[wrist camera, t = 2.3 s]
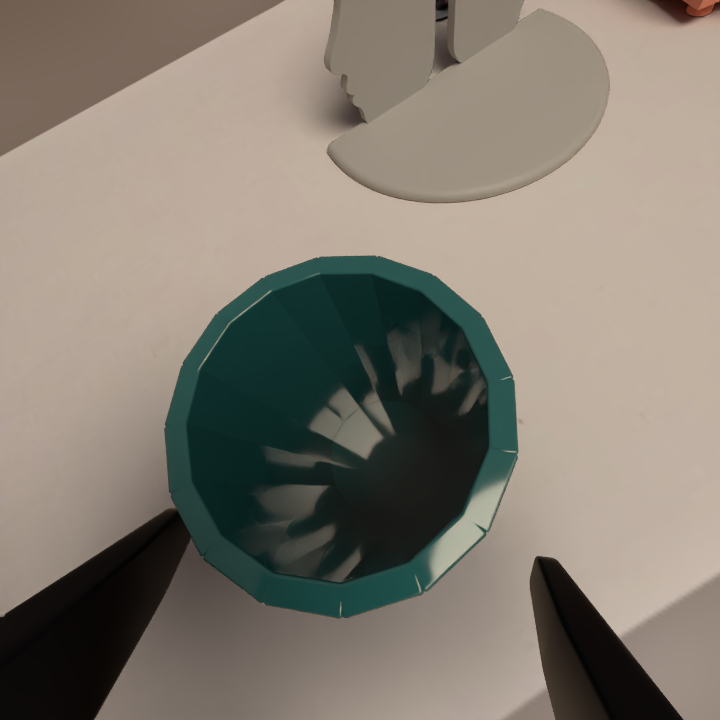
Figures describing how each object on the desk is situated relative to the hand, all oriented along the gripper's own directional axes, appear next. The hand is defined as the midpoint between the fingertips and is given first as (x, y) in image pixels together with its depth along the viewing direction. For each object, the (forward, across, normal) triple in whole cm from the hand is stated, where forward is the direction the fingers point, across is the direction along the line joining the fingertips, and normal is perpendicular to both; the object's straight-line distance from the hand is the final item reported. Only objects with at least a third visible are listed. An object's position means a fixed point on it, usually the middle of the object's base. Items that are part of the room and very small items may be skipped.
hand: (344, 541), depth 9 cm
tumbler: (+9, 0, +5) cm, 10 cm away
